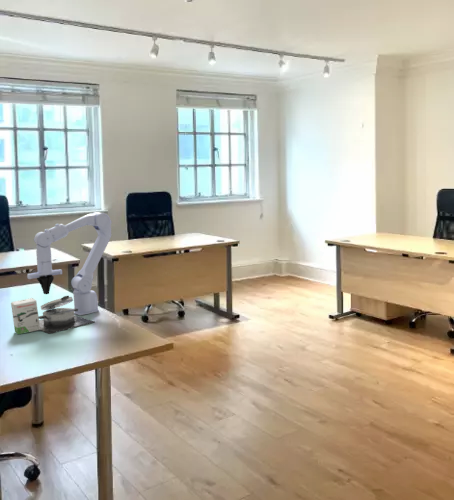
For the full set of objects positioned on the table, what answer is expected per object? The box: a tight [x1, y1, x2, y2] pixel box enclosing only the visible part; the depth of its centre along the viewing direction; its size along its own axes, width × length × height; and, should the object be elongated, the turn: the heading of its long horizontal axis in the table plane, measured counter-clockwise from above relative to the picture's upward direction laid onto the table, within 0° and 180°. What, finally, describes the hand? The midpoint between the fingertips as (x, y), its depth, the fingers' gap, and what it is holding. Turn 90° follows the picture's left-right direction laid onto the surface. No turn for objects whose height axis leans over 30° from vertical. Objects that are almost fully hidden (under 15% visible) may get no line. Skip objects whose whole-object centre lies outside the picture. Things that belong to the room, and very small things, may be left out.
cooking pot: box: [38, 307, 95, 335], centre depth 232 cm, size 20×20×5 cm
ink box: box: [10, 297, 40, 335], centre depth 221 cm, size 9×5×12 cm, turn 123°
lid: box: [40, 295, 74, 311], centre depth 231 cm, size 13×16×2 cm
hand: (46, 293), depth 240 cm, fingers closed
